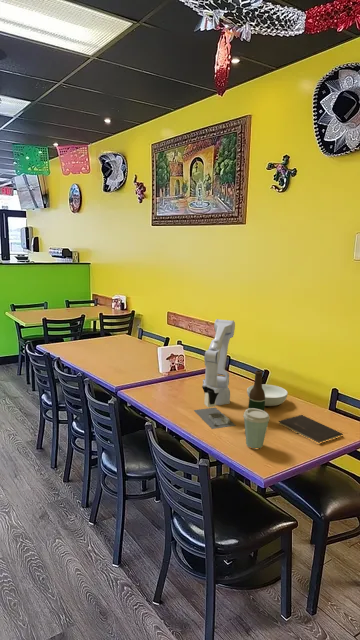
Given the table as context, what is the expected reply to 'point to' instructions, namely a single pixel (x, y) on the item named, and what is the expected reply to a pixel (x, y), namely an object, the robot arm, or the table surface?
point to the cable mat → (214, 413)
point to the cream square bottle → (208, 401)
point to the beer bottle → (257, 393)
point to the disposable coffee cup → (255, 427)
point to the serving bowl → (272, 394)
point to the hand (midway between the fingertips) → (210, 402)
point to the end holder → (219, 420)
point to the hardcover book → (310, 428)
